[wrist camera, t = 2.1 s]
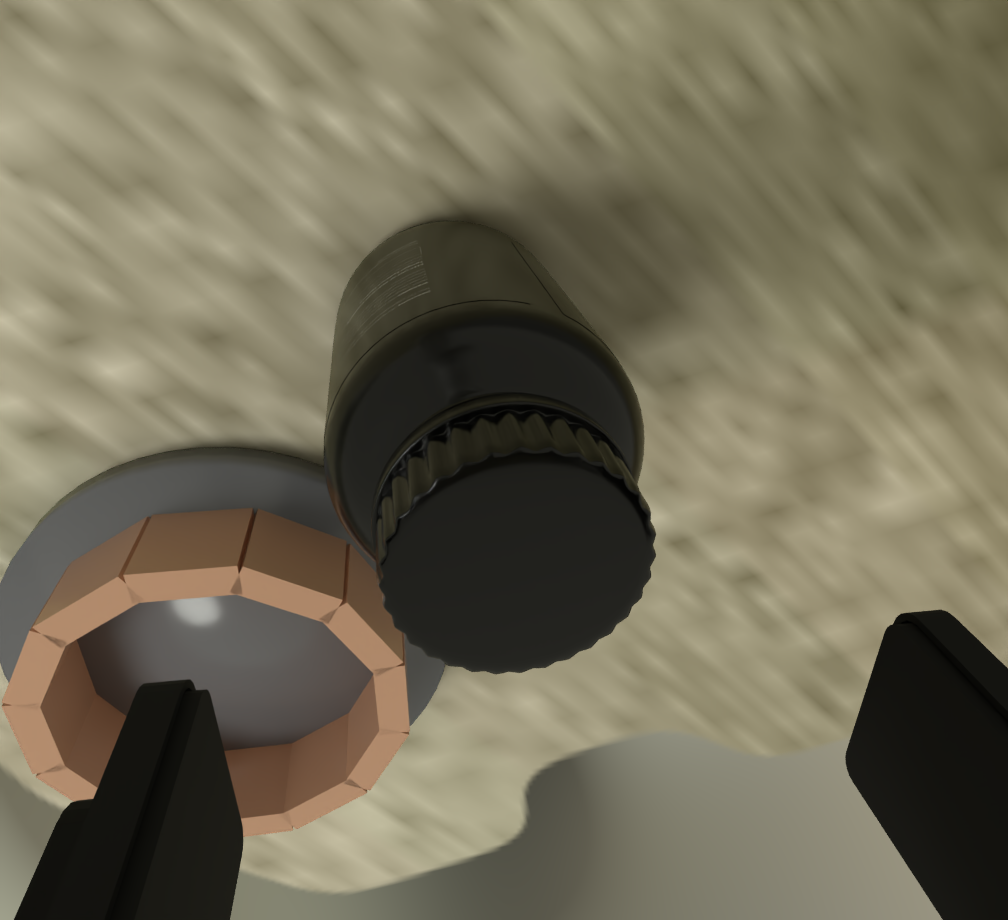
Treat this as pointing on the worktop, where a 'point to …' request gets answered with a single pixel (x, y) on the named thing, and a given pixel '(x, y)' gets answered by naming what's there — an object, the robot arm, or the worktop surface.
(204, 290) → the worktop surface
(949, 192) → the worktop surface
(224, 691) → the bottle holder
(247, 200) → the worktop surface
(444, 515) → the supplement bottle
